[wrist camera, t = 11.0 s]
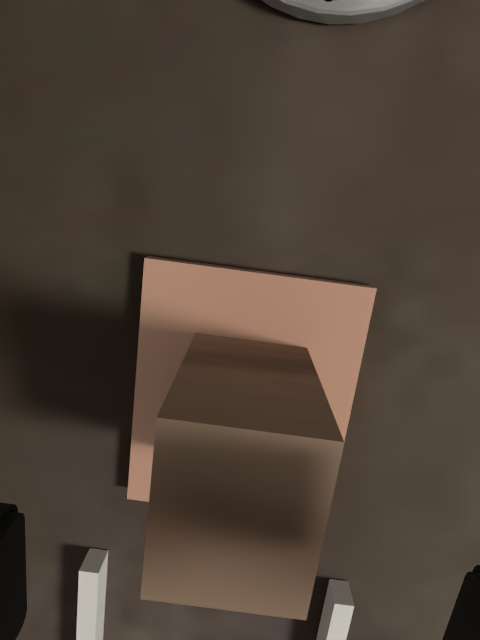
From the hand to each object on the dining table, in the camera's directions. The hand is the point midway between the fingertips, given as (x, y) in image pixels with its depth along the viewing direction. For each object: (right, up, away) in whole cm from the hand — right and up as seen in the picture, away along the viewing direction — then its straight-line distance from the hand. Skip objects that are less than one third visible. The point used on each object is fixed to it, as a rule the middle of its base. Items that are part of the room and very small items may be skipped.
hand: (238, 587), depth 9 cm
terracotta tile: (0, +2, +12) cm, 12 cm away
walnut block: (0, +2, +11) cm, 11 cm away
